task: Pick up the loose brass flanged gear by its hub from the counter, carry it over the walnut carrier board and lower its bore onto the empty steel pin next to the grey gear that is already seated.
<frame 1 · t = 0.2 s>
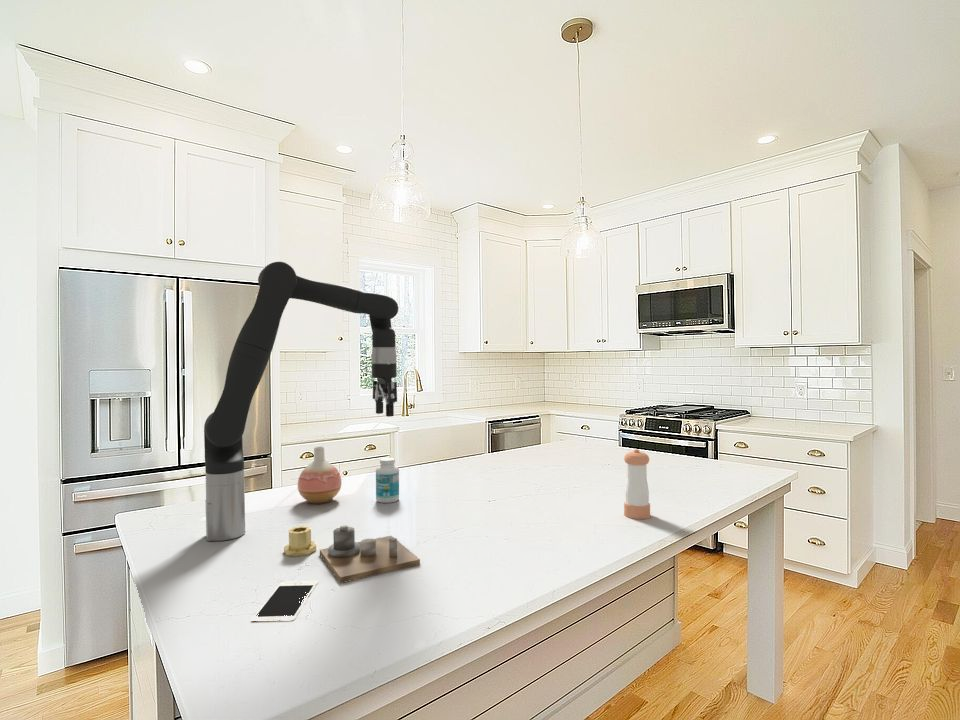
hand: (384, 414, 161), 29 cm above the counter, fingers open, 8 cm apart
salt shaker: (637, 515, 152), on the counter
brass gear: (300, 550, 127), on the counter
cell phone: (287, 603, 102), on the counter
vase: (320, 501, 170), on the counter
pill bottle: (387, 501, 170), on the counter
carrier: (368, 559, 121), on the counter
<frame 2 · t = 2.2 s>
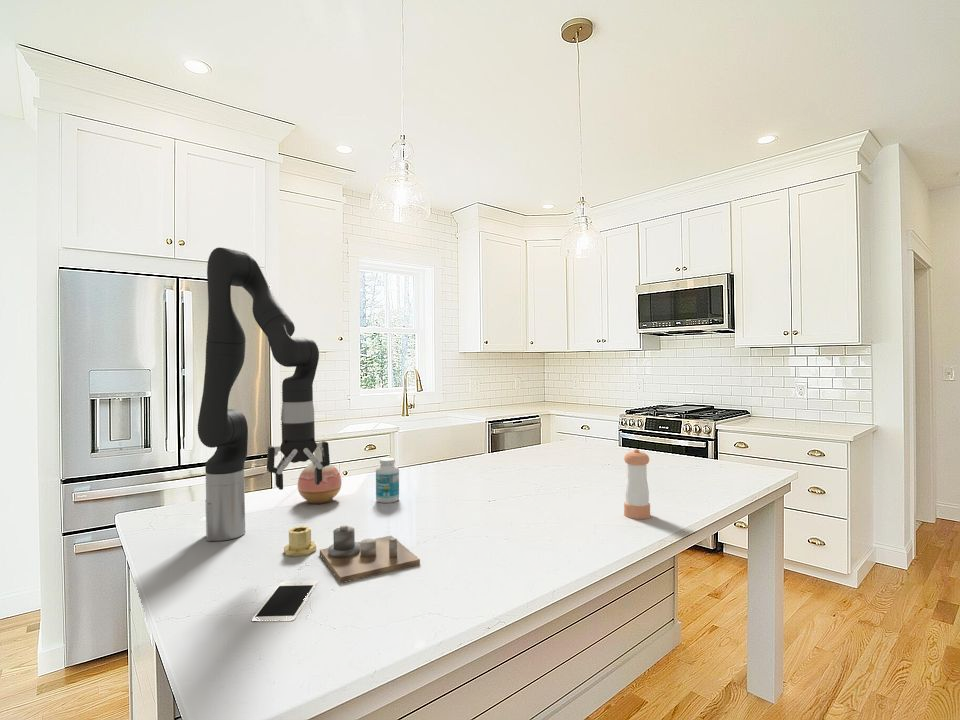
hand: (299, 486, 127), 16 cm above the counter, fingers open, 8 cm apart
nothing on the counter moved.
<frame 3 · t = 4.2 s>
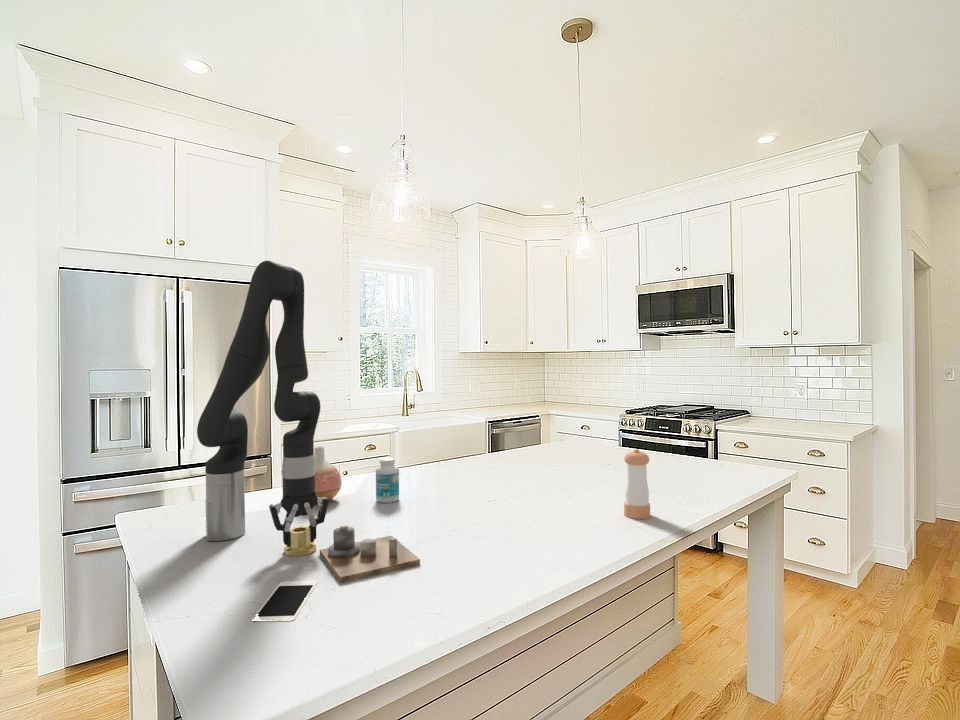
hand: (300, 543, 127), 2 cm above the counter, fingers closed on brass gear, 4 cm apart
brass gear: (300, 550, 127), on the counter, touching gripper
everything else where it was.
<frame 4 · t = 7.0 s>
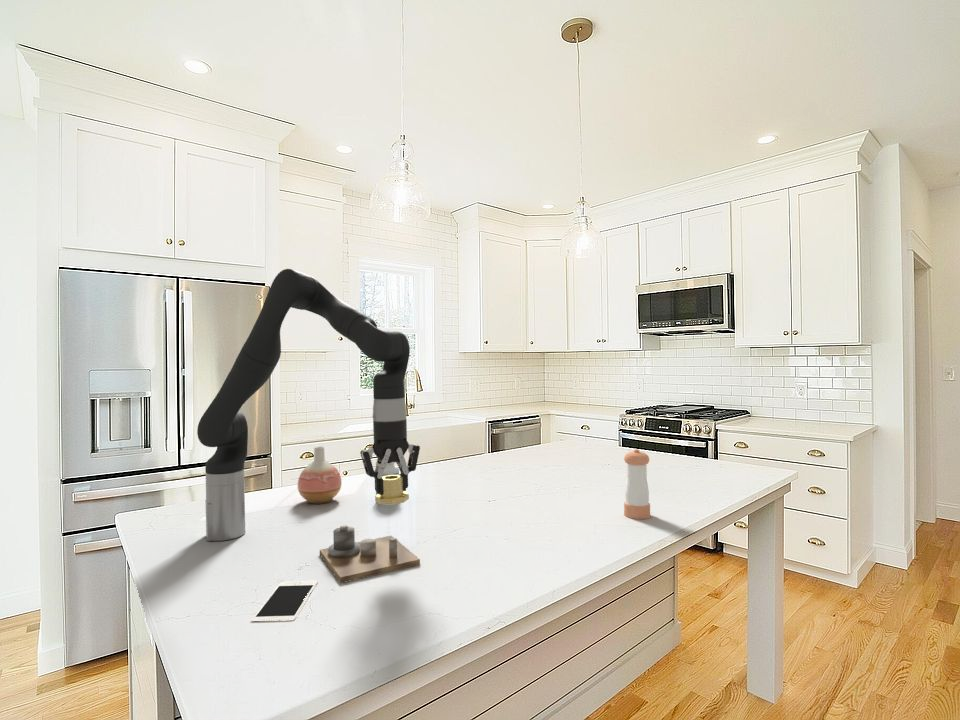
hand: (391, 491, 120), 16 cm above the counter, fingers closed on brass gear, 4 cm apart
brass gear: (392, 500, 119), point 14 cm above the counter, touching gripper
everything else where it was.
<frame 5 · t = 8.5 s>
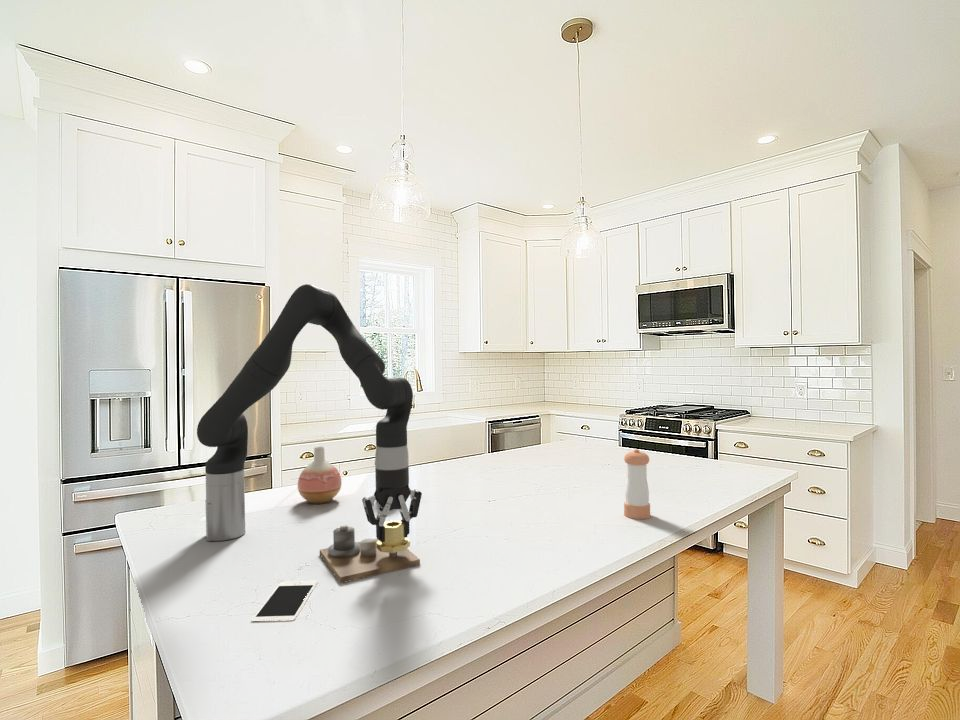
hand: (393, 538, 120), 5 cm above the counter, fingers closed on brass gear, 4 cm apart
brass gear: (393, 546, 120), point 4 cm above the counter, touching gripper
everything else where it was.
when the fingers open (4 cm above the counter, at t = 9.5 s): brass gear drops 1 cm, resting on carrier.
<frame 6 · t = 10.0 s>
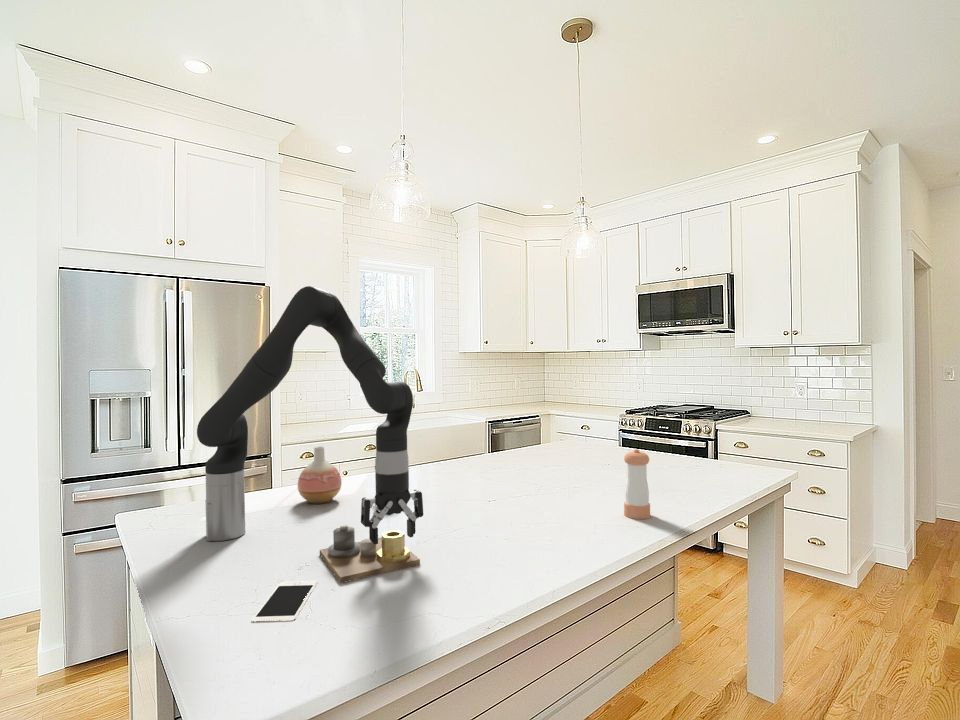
hand: (393, 539, 120), 5 cm above the counter, fingers open, 8 cm apart
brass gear: (393, 556, 120), point 1 cm above the counter, touching carrier
everything else where it was.
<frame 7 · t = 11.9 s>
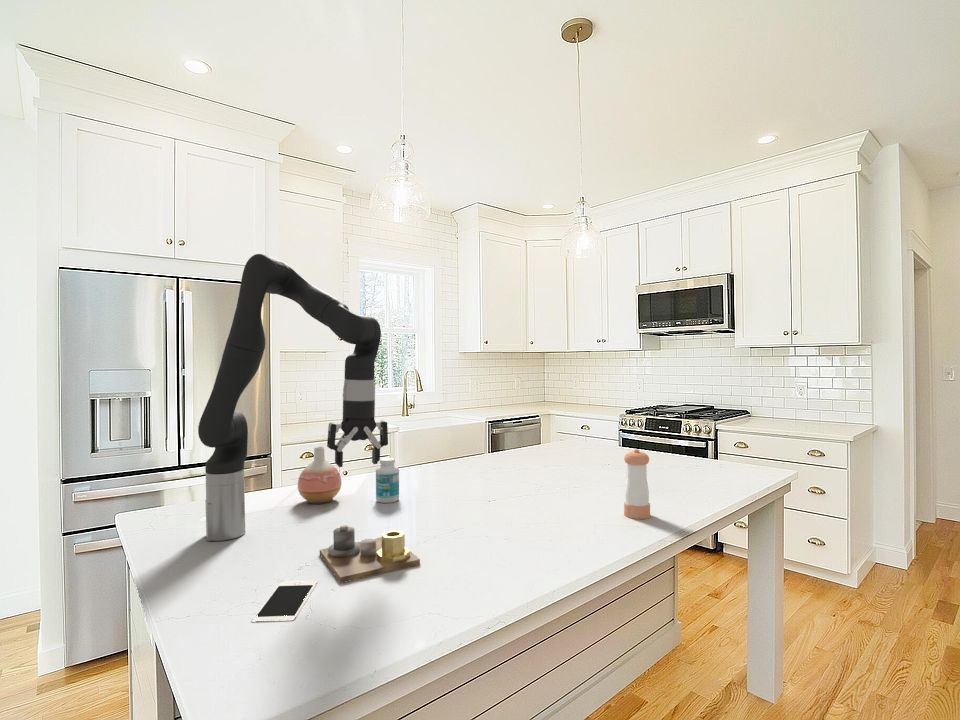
hand: (357, 465, 126), 21 cm above the counter, fingers open, 8 cm apart
nothing on the counter moved.
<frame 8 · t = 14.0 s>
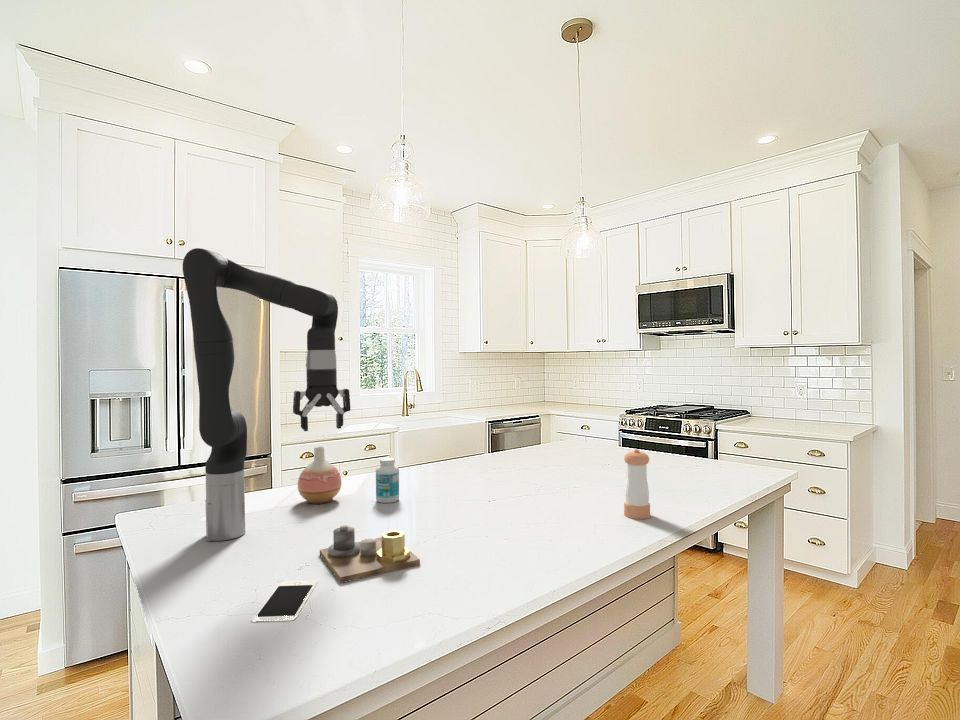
hand: (322, 429, 136), 28 cm above the counter, fingers open, 8 cm apart
nothing on the counter moved.
at the end: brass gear 0.0 cm from the target spot on the carrier, point 1.2 cm above the carrier's base; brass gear tilted 0°; the gripper is holding nothing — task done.
